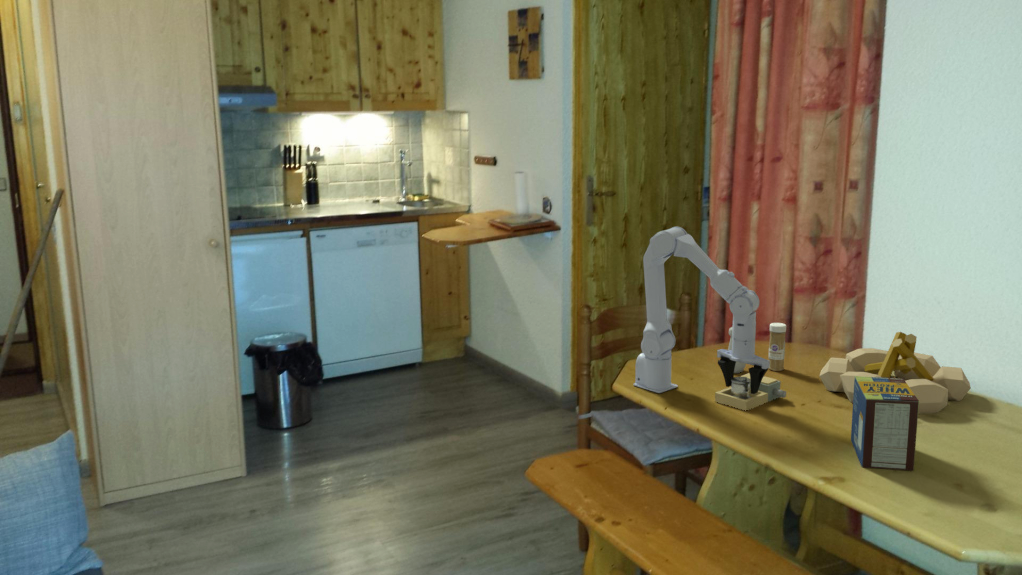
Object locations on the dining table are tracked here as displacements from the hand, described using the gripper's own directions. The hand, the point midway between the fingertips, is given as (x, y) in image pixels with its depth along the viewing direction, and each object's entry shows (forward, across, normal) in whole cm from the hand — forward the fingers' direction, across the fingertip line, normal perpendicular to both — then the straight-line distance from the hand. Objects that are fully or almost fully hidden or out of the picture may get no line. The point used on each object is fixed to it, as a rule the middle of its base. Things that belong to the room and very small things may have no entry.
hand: (741, 389), depth 220 cm
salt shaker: (+4, -16, +20) cm, 27 cm away
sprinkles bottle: (+4, -10, +30) cm, 32 cm away
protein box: (+4, +40, -6) cm, 41 cm away
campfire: (+4, +22, +35) cm, 42 cm away
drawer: (+3, +1, +3) cm, 5 cm away
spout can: (+3, 0, 0) cm, 3 cm away
